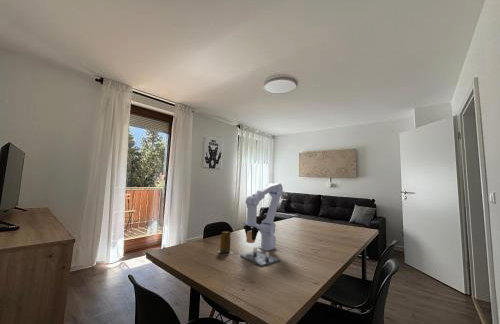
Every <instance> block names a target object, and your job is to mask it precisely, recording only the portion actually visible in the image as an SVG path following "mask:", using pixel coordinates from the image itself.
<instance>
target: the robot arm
mask: <svg viewBox="0 0 500 324" xmlns="http://www.w3.org/2000/svg"><path fill="white" fill-rule="evenodd" d="M283 191H284V189H283V185H282V183H267V184H266V187H264V188H263V189H262V190H256V192H255V193H252V195H250V196H248V197H246V199H245V204H246V208H247V211H246V212H247V213H246V215H247V217H246V221H245V220H243V221H242V225H243V226H242V227H243V230H244V232H245V237H246V238H247V231H251V232H252V240H255V241H256V239H257V236H258V234H259V233H260V235H261V236H260V237H261V238H260V239H261V241H260V246H258V247H257V249H261V250H263V251H265V252H267V251H271V250H276V249H277V247H276V241H277V240H276V239H277V238H276V236H275V233H276V226H277V225H276V223H275V221H274V220H275V217H276V216H275V215H276V213H277V210H278V206H279V202H280V200H281V197H282V194H283ZM268 194H269V195H270V196H271V201H270V204H269V207H268V211H267V213H266V217H265V218H264V219H263V220H261V223H260V224H259V223H257V215H258V214H257V209H258V206H259V204H260V202H261V201H262V200H264V198H265V196H266V195H268Z"/></svg>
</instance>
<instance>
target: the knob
mask: <svg viewBox="0 0 500 324" xmlns="http://www.w3.org/2000/svg"><path fill="white" fill-rule="evenodd" d="M245 239H246V243H248V244H253V243H255V242H256V240H252V232H251V231H247V237H246V238H245Z"/></svg>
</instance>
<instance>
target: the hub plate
mask: <svg viewBox="0 0 500 324" xmlns="http://www.w3.org/2000/svg"><path fill="white" fill-rule="evenodd" d="M239 256H240V258H243V259H245V260H246V261H248V262H250V263H253V264H254V265H256V266H258V267H261V268H262V267H265V266H268V265H272V264H276V263H278V262H281V260H280V258H277V257H275V256H272V255H270V252H267V251H265V252H262V251H260V250H258V247H253V251H251V252H247V253H244V254H240V255H239Z"/></svg>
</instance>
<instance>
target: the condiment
mask: <svg viewBox="0 0 500 324" xmlns="http://www.w3.org/2000/svg"><path fill="white" fill-rule="evenodd" d="M231 238H232V237H231V232H230V231H221V236H220V243H219V245H220V246H219V250H217V251H216V252H217V253H219V254H221V255H223V256H228V255H233V254H234V252H233V251H231Z"/></svg>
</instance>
